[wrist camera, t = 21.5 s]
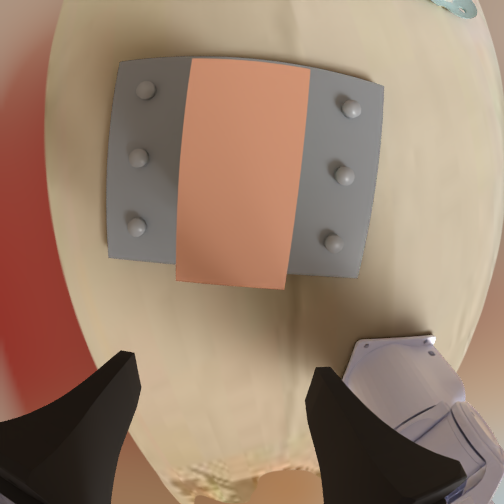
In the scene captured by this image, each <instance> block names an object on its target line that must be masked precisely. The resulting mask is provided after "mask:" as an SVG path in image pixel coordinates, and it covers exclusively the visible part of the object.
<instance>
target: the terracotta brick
mask: <svg viewBox="0 0 504 504" xmlns="http://www.w3.org/2000/svg"><path fill="white" fill-rule="evenodd" d="M309 82H310V69H307V68H301V67H295V66H289V65H282V64H275V63H267V62H258V61H247V60H233V59H205V58H192V63H191V70H190V76H189V83H188V90H187V98H186V106H185V114H184V123H183V133H182V144H181V155H180V168H179V183H178V202H177V229H176V281H183V282H194V283H204V284H216V285H227V286H240V287H253V288H266V289H281V290H284V288H285V282H286V275H287V269H288V262H289V256H290V249H291V242H292V235H293V228H294V220H295V213H296V205H297V198H298V190H299V181H300V173H301V164H302V156H303V146H304V137H305V127H306V117H307V106H308V94H309Z"/></svg>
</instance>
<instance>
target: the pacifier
mask: <svg viewBox="0 0 504 504" xmlns="http://www.w3.org/2000/svg"><path fill="white" fill-rule="evenodd" d="M431 1H432V2H434V3H435V4H436V5H438V6H441V7H444V8H447V9H448V10H449V11H450V12H452V13H453V14H455V15H456V16H458V17H461V18H464V19H471V18H474V17H475V16H476V15H477V9H476V6H475V5H474V3H473V2H472V0H431ZM458 7H459V8H461V9H463V10H464V11H465V13H463V12H461V11H460V10H459V8H458Z"/></svg>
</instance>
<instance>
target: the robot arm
mask: <svg viewBox="0 0 504 504" xmlns="http://www.w3.org/2000/svg"><path fill="white" fill-rule="evenodd" d="M435 339H436V337H435V336H434V335H425V336H414V337H400V338H383V339H361V340H359V341H357V342H356V344H355V347H354V350H353V353H352V355H351V358H350V361H349V363H348V366H347V369H346V371H345V374H344V376H343V379H342V380H341V379H340V378H339V376H338V375H337V374H336V373H335V372H334V371H333V370H332V368H331V367H316V369H315V372H314V375H313V378H312V381H311V384H310V387H309V390H308V393H307V396H306V399H305V404H306V413H307V420H308V425H309V429H310V432H311V436H312V440H313V444H314V447H315V451H316V455H317V459H318V462H319V467H320V472H321V480H322V487H323V497H324V504H494V503H493V501H492V500H491V499H492V498H493V496H494V494H495V492H496V490H497V488H498V486H499V484H500V482H501V480H502V478H503V476H504V451H503V449H502V448H501V446H500V445H499V443H498V441H497V439H496V437H495V435H494V433H493V432H492V430H491V429H490V427H489V426H488V425H487V423H486V422H485V420H484V419H483V418H482V416H481V415H480V414H479V413H478V412H477V410H476V409H475V408H474V407H473V406H472V405H471V404H470V403H468V402H466V401H465V389H464V385H463V383H462V380H461V379H460V377H459V375H458V374H457V373H456V372H455V371H454V369H453V368H452V367H451V366H450V364H449V363H448V362H447V361H446V360H445V358H444V357H443V356H442V355H441V354H440V353H439V351H438V350H437V349H436V348H435V347H434V346H433V344H434V342H435ZM365 344H367V345H365ZM140 391H141V384H140V379H139V374H138V369H137V364H136V359H135V353H132V352H127V351H120V352H118V353H117V354H116V355H115V356H113V357H112V358H111V359H110V360H109V361H108V362H106V363H105V364H104V365H103V366H102V367H101V368H99V369H98V370H97V371H96V372H95V373H93V374H92V375H91V376H90V377H88V378H87V379H86V380H85V381H83V382H82V383H81V384H79V385H78V386H77V387H75V388H74V389H73V390H71V391H70V392H68V393H67V394H65V395H64V396H62V397H61V398H59V399H57V400H55V401H54V402H52V403H50V404H48V405H46V406H44V407H42V408H40V409H38V410H35V411H33V412H31V413H29V414H26V415H23V416H21V417H18V418H15V419H11V420H8V421H4V422H0V504H111V496H112V489H113V482H114V476H115V471H116V466H117V461H118V457H119V454H120V450H121V447H122V444H123V442H124V439H125V437H126V434H127V431H128V429H129V426H130V424H131V421H132V418H133V416H134V413H135V410H136V408H137V404H138V400H139V396H140Z"/></svg>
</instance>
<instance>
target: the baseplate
mask: <svg viewBox="0 0 504 504" xmlns="http://www.w3.org/2000/svg"><path fill="white" fill-rule="evenodd" d="M192 58H205V59H233V60H247V61H258V62H267V63H275V64H282V65H289V66H295V67H301V68H307V69H310V82H309V94H308V106H307V117H306V127H305V137H304V146H303V156H302V164H301V173H300V181H299V190H298V198H297V205H296V213H295V220H294V228H293V235H292V242H291V249H290V256H289V262H288V269H287V274H298V275H312V276H327V277H343V278H358V274H359V270H360V266H361V261H362V257H363V252H364V248H365V243H366V238H367V233H368V228H369V222H370V217H371V211H372V205H373V199H374V192H375V186H376V179H377V171H378V163H379V154H380V144H381V133H382V120H383V103H384V86H382V85H379V84H376V83H373V82H370V81H366V80H363V79H359V78H356V77H352V76H348V75H345V74H341V73H336V72H332V71H328V70H323V69H319V68H314V67H308V66H303V65H297V64H291V63H285V62H278V61H270V60H261V59H251V58H238V57H218V56H181V57H161V58H148V59H138V60H129V61H122V62H120V64H119V69H118V74H117V80H116V85H115V92H114V98H113V106H112V113H111V122H110V132H109V144H108V159H107V186H106V213H107V241H108V256H109V258H115V259H125V260H134V261H144V262H155V263H165V264H176V229H177V202H178V183H179V168H180V155H181V144H182V133H183V123H184V114H185V106H186V98H187V90H188V83H189V76H190V70H191V63H192Z"/></svg>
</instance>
